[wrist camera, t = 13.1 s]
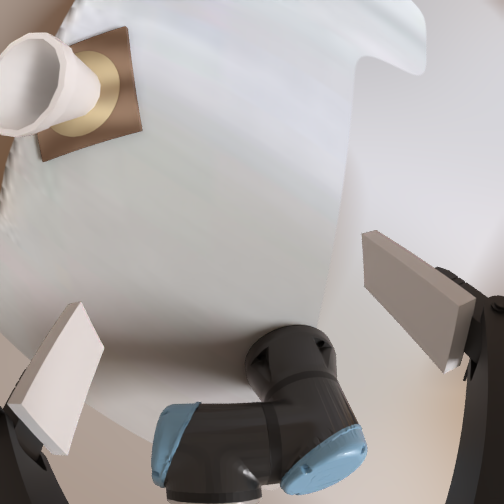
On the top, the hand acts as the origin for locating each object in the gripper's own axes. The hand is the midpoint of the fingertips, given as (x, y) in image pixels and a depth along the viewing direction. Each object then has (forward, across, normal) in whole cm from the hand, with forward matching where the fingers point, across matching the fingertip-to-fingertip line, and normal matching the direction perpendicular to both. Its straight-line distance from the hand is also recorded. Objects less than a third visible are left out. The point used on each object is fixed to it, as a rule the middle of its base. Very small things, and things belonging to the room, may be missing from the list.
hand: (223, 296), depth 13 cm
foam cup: (+24, +13, -17) cm, 33 cm away
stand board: (+26, +13, -17) cm, 34 cm away
